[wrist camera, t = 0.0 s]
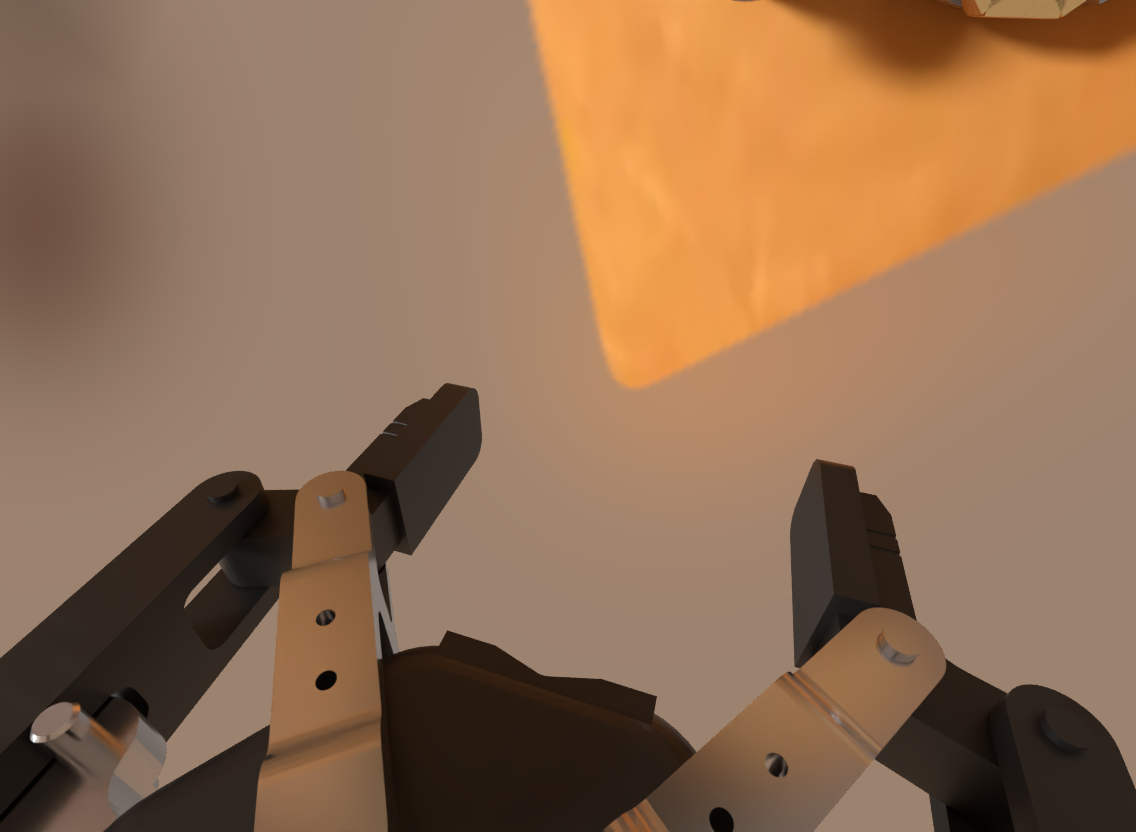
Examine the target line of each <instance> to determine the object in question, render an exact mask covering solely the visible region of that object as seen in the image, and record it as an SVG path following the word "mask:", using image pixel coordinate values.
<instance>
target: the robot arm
mask: <svg viewBox="0 0 1136 832" xmlns="http://www.w3.org/2000/svg"><path fill="white" fill-rule="evenodd" d="M481 442H482V432H481V421H480V409H479V398H478V393H477V391H476V389H474V388H469V387H464V386H459V385H455V384H450V383H446V384H444V385H443V386H442V387H441V388H440V389H439V390H438V391H437V392H436V393H435V394H434V396H433V397H432V398H431V399H430V400H429V399H424V398H423V399H421V400H419V401H417V402H415V403H414V404H412V405H410V406H408V407H406V408H405V409H404V410H403V411H402V412H401V413H400V414H399V415H398V416H397V417H396V418H395V419H394V420H393V423H391V424H390V425H389V426H388V427H387V428H386V429H385V430H384V431H383V434H380V435H379V436H378V437H377V438H376V439H375V440H374V441H373V442H372V443H371V445H370V446H369V447H368V448H367V449H366V450H365V451H364V452H363V453H362V454H361V455H360V456H359V457H358V458H357V459H356V460H355V461H354V462H353V463H352V464H351V465H350V466H349V468H348V469H347V470H346V471H333V472H328V473H324V474H322V475H319V476H317V477H315V478H313V479H311V480H310V481H308V482H307V483H306V484H305V485H304V486H303V487H302V488H301V489H300V490H264V488H263V486H262V483H261V481H260V479H259V478H258V477H257V476H256V475H255V474H253V473H250V472H245V471H232V472H226V473H222V474H219V475H216V476H214V477H212V478H209V479H208V480H206V481H204V482H202V483H201V484H200V485H198V486H197V487H196V488H195V489H193V490H192V491H191V492H190V493H189V494H188V495H187V496H185V497H184V498H183V499H182V500H181V501H180V502H179V503H178V504H176V505H175V506H174V507H173V508H172V509H171V510H169V511H168V512H167V513H166V514H165V515H164V516H162V517H161V518H160V519H159V520H158V521H157V522H156V523H154V524H153V525H152V526H151V527H150V528H149V529H148V530H146V531H145V532H144V533H143V534H142V535H141V536H140V537H138V538H137V539H136V540H135V541H134V542H133V543H132V544H130V546H128V547H127V548H126V549H125V550H124V551H122V552H121V553H120V554H119V555H118V556H117V557H116V558H114V559H113V560H112V561H111V562H110V563H109V564H108V565H106V566H105V567H104V568H103V569H102V570H101V571H100V572H98V573H97V574H96V575H95V576H94V577H93V578H92V579H90V580H89V581H88V582H87V583H86V584H85V585H84V586H82V587H81V588H80V589H79V590H78V591H77V592H76V593H74V594H73V595H72V596H71V597H70V598H69V599H68V600H66V601H65V602H64V603H63V604H62V605H61V606H60V607H58V608H57V609H56V610H55V611H54V612H53V613H52V614H51V615H49V616H48V617H47V618H46V619H45V620H44V621H42V622H41V623H40V624H39V625H38V626H37V627H36V628H34V629H33V630H32V631H31V632H30V633H29V634H28V635H26V636H25V637H24V638H23V639H22V640H21V641H20V642H18V643H17V644H16V645H15V646H14V647H13V648H12V649H10V650H9V651H8V652H7V653H6V654H5V655H4V656H3V657H1V658H0V832H813V831H814V830H815V829H816V828H817V827H818V825H819V824H820V823H821V822H822V821H823V820H824V818H825V817H826V816H827V815H828V814H829V812H830V811H831V810H832V809H833V808H834V806H835V805H836V804H837V803H838V802H839V800H840V799H841V798H842V797H843V796H844V795H845V793H846V792H847V791H848V790H849V789H850V787H851V786H852V785H853V784H854V783H855V782H856V780H857V779H858V778H859V777H860V775H861V774H862V773H863V772H864V771H865V770H866V768H867V767H868V766H869V765H870V764H871V762H872V761H873V760H874V759H875V760H877V761H878V762H880V763H881V764H883V765H885V766H886V767H888V768H889V769H891V770H892V771H894V772H895V773H897V774H899V775H900V776H902V777H903V778H905V779H906V780H908V781H910V782H911V783H913V784H914V785H916V786H917V787H919V788H921V789H922V790H924V791H925V792H927V793H928V794H929V797H930V804H931V811H932V818H933V825H934V832H1136V789H1135V787H1134V784H1133V782H1132V779H1131V777H1130V775H1129V772H1128V770H1127V767H1126V765H1125V762H1124V760H1123V758H1122V755H1121V754H1120V751H1119V749H1118V747H1117V745H1116V743H1115V741H1114V739H1113V738H1112V736H1111V735H1110V733H1109V732H1108V731H1107V730H1106V729H1105V727H1104V726H1103V725H1102V724H1101V723H1100V722H1099V721H1098V720H1097V719H1096V718H1095V717H1094V716H1093V715H1092V714H1091V713H1090V712H1089V711H1087V710H1086V709H1085V708H1084V707H1082V706H1081V705H1080V704H1078V703H1077V702H1075V701H1074V700H1072V699H1071V698H1069V697H1067V696H1066V695H1063V694H1061V693H1059V692H1057V691H1055V690H1052V689H1050V688H1047V687H1043V686H1039V685H1021V686H1017V687H1016V688H1014V689H1012V690H1011V691H1010V692H1009V693H1008V694H1007V693H1005V692H1004V691H1002V690H1000V689H998V688H996V687H994V686H992V685H990V684H988V683H987V682H984V681H983V680H981V679H979V678H977V677H975V676H973V675H971V674H969V673H967V672H966V671H964V670H962V669H960V668H958V667H957V666H955V665H954V664H952V663H951V662H950V661H948V660H947V659H946V658H945V656H944V653H943V650H942V648H941V647H940V645H939V643H938V642H937V640H936V639H935V638H934V636H933V635H932V634H931V633H930V632H929V631H928V630H927V629H926V628H925V627H924V626H922V625H921V624H920V623H919V622H917V620H916V616H915V612H914V608H913V604H912V600H911V596H910V592H909V587H908V583H907V579H906V575H905V571H904V566H903V562H902V558H901V556H899V553H900V550H899V546H898V542H897V540H896V539H895V537H896V533H895V529H894V525H893V521H892V517H891V514H890V513H889V512H888V511H887V509H886V508H885V507H884V505H883V504H882V502H881V501H880V500H879V499H878V497H877V496H876V495H872V494H867V493H861V492H860V491H859V486H858V481H857V475H856V470H855V468H854V467H853V466H848V465H843V464H838V463H833V462H829V461H824V460H819V459H816V460H815V462H814V463H813V465H812V467H811V469H810V472H809V474H808V477H807V479H806V482H805V484H804V487H803V489H802V492H801V495H800V497H799V499H798V502H797V504H796V507H795V510H794V513H793V517H792V522H791V530H790V543H791V572H792V602H793V632H794V661H795V667H797V668H800V669H799V670H798V671H797V672H795V673H794V674H792V673H791V672H787V673H785V674H783V675H782V676H781V677H779V678H778V679H777V680H776V681H775V682H774V683H773V684H771V685H770V686H769V687H768V688H767V689H766V690H765V691H764V692H763V693H762V694H760V695H759V696H758V697H757V698H756V699H755V700H754V701H753V702H752V703H751V704H749V705H748V706H747V707H746V708H745V709H744V710H743V711H742V712H741V713H739V714H738V715H737V716H736V717H735V718H734V719H733V720H732V721H731V722H729V723H728V724H727V725H726V726H725V727H724V728H723V729H722V730H721V731H720V732H718V734H716V735H715V736H714V737H713V738H712V739H711V740H710V741H709V742H707V743H706V744H705V745H704V746H703V747H702V748H701V749H700V750H699V751H698V752H696V751H695V750H694V748H693V747H692V746H691V745H690V743H689V742H688V741H687V740H686V739H685V738H684V737H683V736H682V735H681V734H680V733H679V732H678V731H677V730H676V729H675V728H674V727H672V726H671V725H670V724H669V723H667V722H666V721H665V720H664V719H662V718H660V717H659V716H657V715H656V714H654V710H655V704H656V698H657V696H654V695H651V694H647V693H644V692H641V691H638V690H634V689H632V688H628V687H625V686H622V685H619V684H616V683H612V682H609V681H606V680H603V679H589V678H588V679H587V678H570V677H550V676H543V675H540V674H538V673H537V672H535V671H534V670H532V669H530V668H528V667H527V666H526V665H524V664H523V663H521V662H520V661H518V660H517V659H515V658H514V657H512V656H510V655H509V654H507V653H506V652H504V651H503V650H501V649H500V648H498V647H497V646H495V645H492V644H489V643H485V642H482V641H479V640H476V639H473V638H469V637H466V636H463V635H460V634H457V633H454V632H450V631H447V632H446V634H445V636H444V638H443V639H442V641H441V643H440V645H439V646H425V647H417V648H412V649H408V650H404V651H402V652H400V651H399V647H398V642H397V636H396V629H395V621H394V612H393V604H392V596H391V589H390V588H391V587H390V580H389V571H388V565H387V560H388V558H389V557H390V555H391V554H392V553H393V551H398V552H402V553H405V554H408V555H412V554H413V552H414V551H415V549H416V548H417V546H418V545H419V543H420V542H421V540H422V539H423V537H424V536H425V534H426V533H427V532H428V530H429V529H430V527H431V526H432V524H433V523H434V521H435V520H436V518H437V516H438V515H439V514H440V512H441V511H442V509H443V508H444V506H445V505H446V504H447V502H448V501H449V499H450V498H451V496H452V495H453V493H454V492H455V490H456V489H457V487H458V486H459V484H460V483H461V481H462V480H463V479H464V477H465V476H466V474H467V473H468V471H469V470H470V468H471V467H472V465H473V464H474V462H475V461H476V459H477V457H478V455H479V452H480V448H481ZM218 562H219V564H220V566H221V568H222V569H221V570H220V571H219V572H218V573H217V574H216V575H215V576H214V577H213V578H212V579H211V580H210V581H209V583H208V584H207V585H206V586H205V587H204V588H203V589H202V590H201V591H200V592H199V593H198V595H197V596H196V597H195V598H194V599H193V600H192V601H191V602H190V603H189V604H188V605H187V606H186V607H185V608H184V605H185V601H186V599H187V597H188V596H189V594H190V593H191V591H192V590H193V589H194V588H195V587H196V586H197V585H198V584H199V582H200V581H201V580H202V579H203V578H204V577H205V576H206V575H207V574H208V573H209V572H210V571H211V570H212V569H213V568H214V567H215V565H216V564H217V563H218ZM278 599H279V608H278V621H277V635H276V649H275V665H274V678H273V692H272V707H271V721H270V725H268V726H266V727H265V728H263V729H261V730H260V731H258V732H256V733H254V734H253V735H251V736H249V737H247V738H246V739H244V740H242V741H241V742H239V743H237V744H235V745H234V746H232V747H230V748H229V749H227V750H225V751H224V752H222V753H220V754H219V755H217V756H215V757H213V758H211V759H210V760H208V761H206V762H205V763H203V764H201V765H199V766H198V767H196V768H194V769H193V770H191V771H189V772H187V773H186V774H184V775H182V776H181V777H179V778H177V779H176V780H174V781H172V782H170V783H169V784H167V785H165V786H164V787H162V788H160V789H158V786H159V780H158V776H159V774H160V772H161V770H162V768H163V765H164V762H165V759H166V753H167V752H166V751H167V749H166V742H167V741H168V739H169V738H170V737H171V736H172V734H173V733H174V732H175V731H176V729H177V728H178V726H179V725H180V724H181V723H182V722H183V720H184V719H185V717H186V716H187V715H188V714H189V713H190V711H191V710H192V709H193V707H194V706H195V705H196V704H197V702H198V701H199V700H200V698H201V697H202V696H203V695H204V693H205V692H206V691H207V689H208V688H209V687H210V686H211V684H212V683H213V682H214V681H215V679H216V678H217V677H218V675H219V674H220V673H221V671H222V670H223V669H224V668H225V666H226V665H227V664H228V662H229V661H230V660H231V659H232V657H233V656H234V655H235V653H236V652H237V651H238V650H239V649H240V647H241V646H242V644H243V643H244V642H245V641H246V640H247V638H248V637H249V636H250V634H251V633H252V632H253V631H254V629H255V628H256V627H257V625H258V624H259V623H260V622H261V620H262V619H263V618H264V616H265V615H266V614H267V612H268V611H269V610H270V609H271V607H272V606H273V605H274V603H275V602H276V601H277V600H278ZM157 789H158V790H157Z"/></svg>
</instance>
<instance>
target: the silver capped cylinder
mask: <svg viewBox="0 0 1136 832" xmlns="http://www.w3.org/2000/svg"><path fill="white" fill-rule="evenodd" d="M733 1H739V2H754V1H759V0H733Z"/></svg>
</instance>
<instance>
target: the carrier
mask: <svg viewBox="0 0 1136 832" xmlns="http://www.w3.org/2000/svg"><path fill="white" fill-rule="evenodd" d="M935 1H937V2H940V3H942V4H944V5H947V6H951V7H955V8H958V9H962V10H964V11H965V13H966V15H970V16H969V17H988V18H1022V19H1058V18H1059V17H1063V16H1065V15H1066V14H1068V13H1069V12H1071V11H1072V10H1073V9H1075V8H1076V7H1078V6H1079V5H1094V4H1101V3H1103V2H1105V1H1108V0H935Z"/></svg>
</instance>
